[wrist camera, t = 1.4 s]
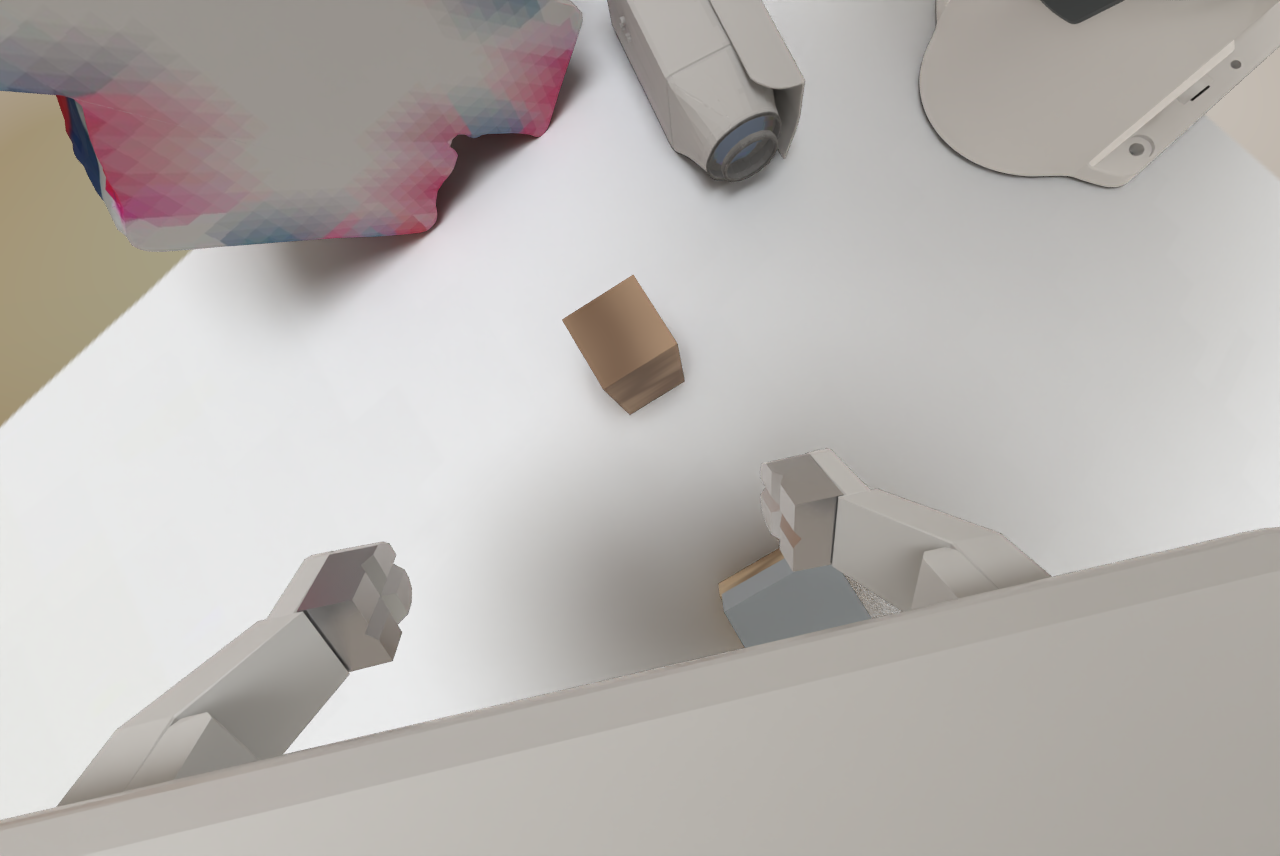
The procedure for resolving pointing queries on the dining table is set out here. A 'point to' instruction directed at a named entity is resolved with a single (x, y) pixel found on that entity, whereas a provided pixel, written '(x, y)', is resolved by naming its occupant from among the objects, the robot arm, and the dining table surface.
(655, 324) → the walnut pillar
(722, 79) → the security camera
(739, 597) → the slate block
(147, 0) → the sculpture
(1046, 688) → the robot arm
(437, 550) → the dining table surface
